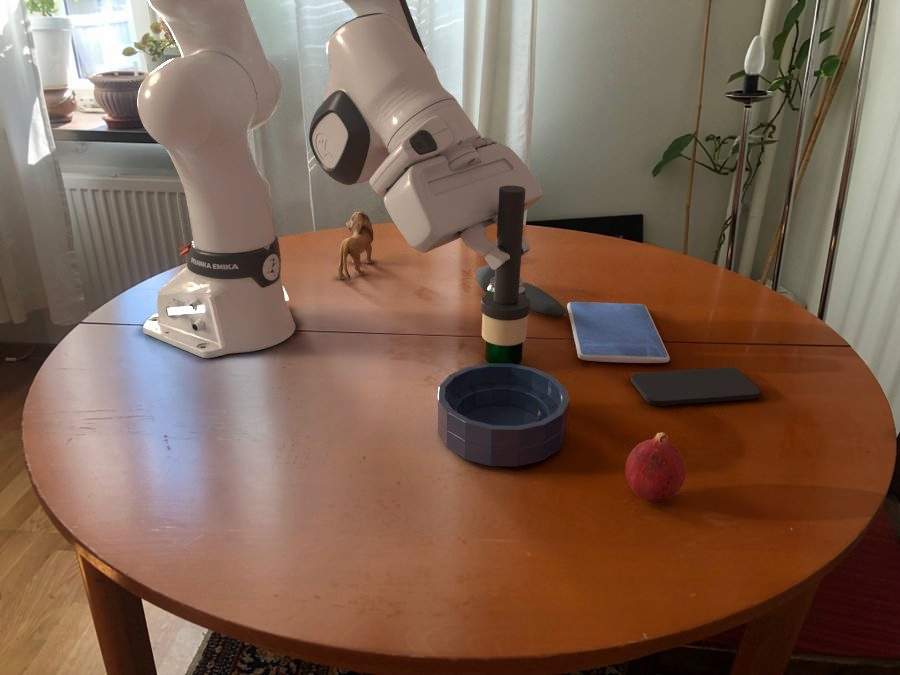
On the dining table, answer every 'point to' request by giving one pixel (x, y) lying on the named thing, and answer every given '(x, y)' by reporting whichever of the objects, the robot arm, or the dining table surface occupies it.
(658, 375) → the phone
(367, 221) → the lion figurine
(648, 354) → the tablet
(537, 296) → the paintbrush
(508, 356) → the soda can
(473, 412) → the bowl
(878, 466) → the dining table surface
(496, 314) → the dish brush
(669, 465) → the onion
